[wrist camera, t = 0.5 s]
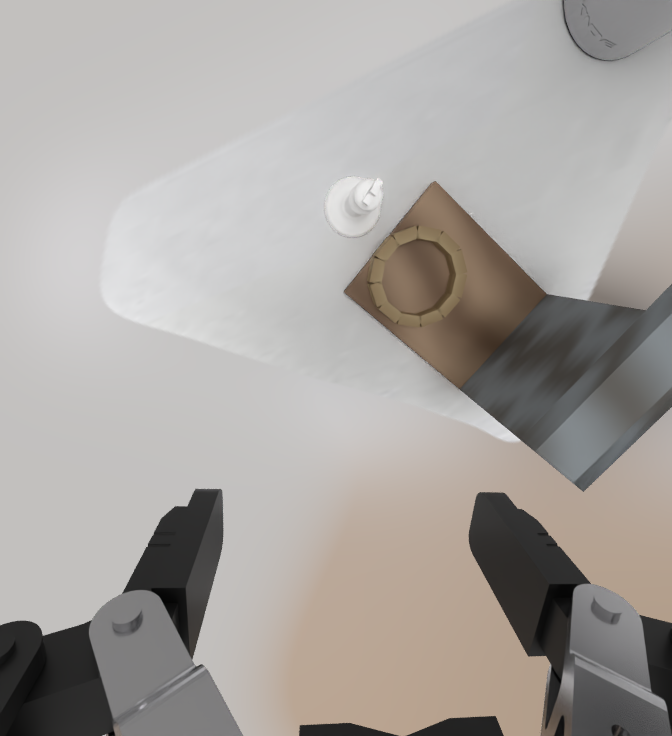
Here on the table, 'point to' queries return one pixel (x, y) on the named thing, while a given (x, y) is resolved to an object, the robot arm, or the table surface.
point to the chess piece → (354, 205)
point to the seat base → (520, 339)
